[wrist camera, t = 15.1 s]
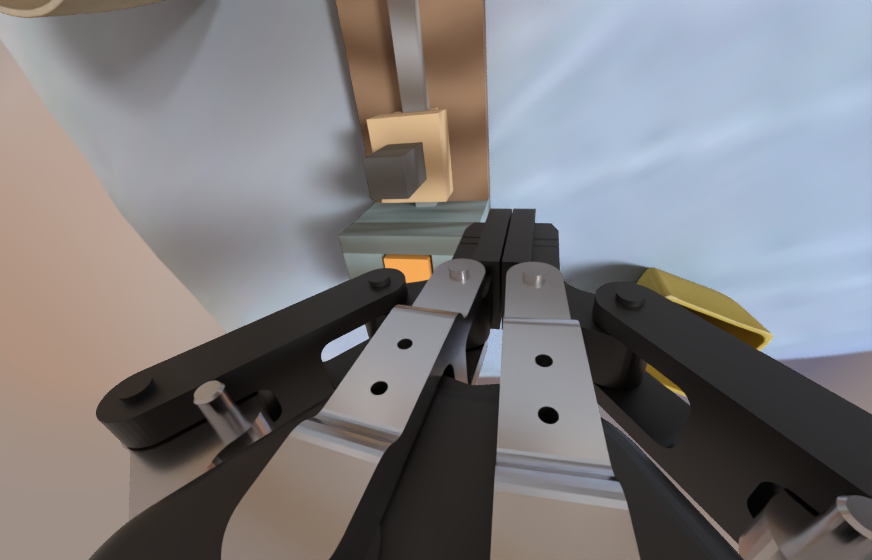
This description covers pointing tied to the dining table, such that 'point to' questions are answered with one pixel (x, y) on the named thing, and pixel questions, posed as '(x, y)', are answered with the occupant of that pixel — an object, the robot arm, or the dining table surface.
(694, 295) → the flower pot
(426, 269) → the button
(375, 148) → the carriage
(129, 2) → the plant pot
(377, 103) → the rail rig
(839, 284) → the dining table surface
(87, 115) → the dining table surface
